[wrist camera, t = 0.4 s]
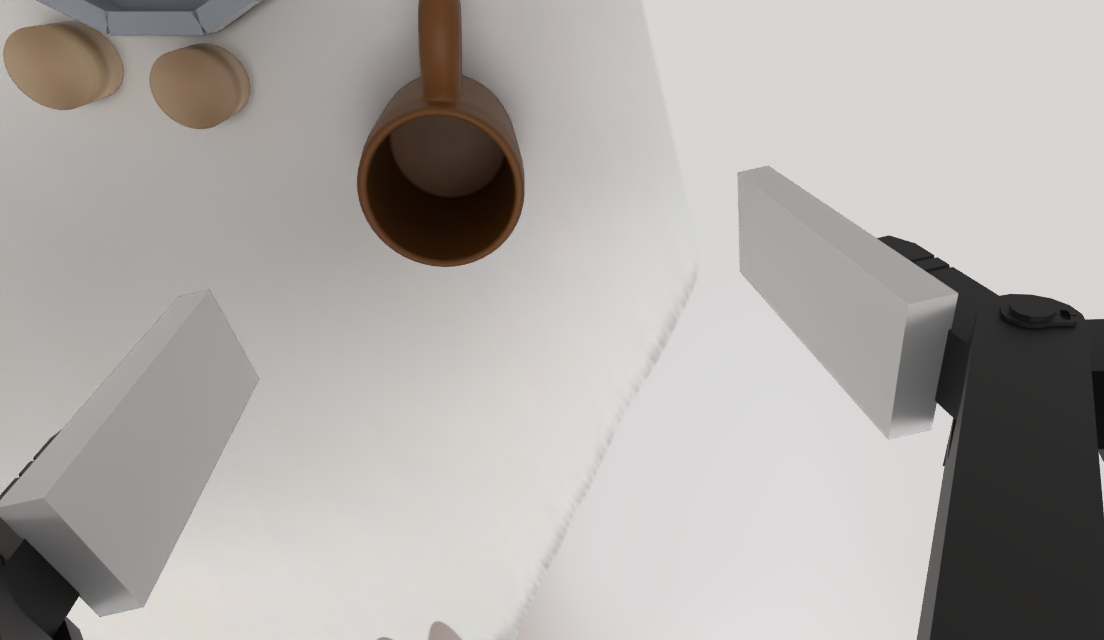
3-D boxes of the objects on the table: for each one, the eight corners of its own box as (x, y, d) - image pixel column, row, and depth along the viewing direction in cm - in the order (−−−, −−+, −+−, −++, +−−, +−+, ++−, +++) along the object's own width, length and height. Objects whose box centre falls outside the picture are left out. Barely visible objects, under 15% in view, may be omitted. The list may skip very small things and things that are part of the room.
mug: (368, -29, 30) (331, -27, 22) (520, -18, 31) (537, -12, 23) (385, 202, 36) (361, 270, 28) (512, 205, 37) (524, 272, 29)
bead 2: (187, 116, 32) (163, 129, 30) (166, 43, 31) (138, 50, 28) (257, 115, 33) (239, 128, 30) (240, 43, 31) (219, 50, 28)
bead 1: (60, 98, 31) (23, 110, 29) (30, 21, 29) (-12, 27, 27) (134, 97, 32) (104, 109, 29) (109, 21, 30) (75, 27, 27)
